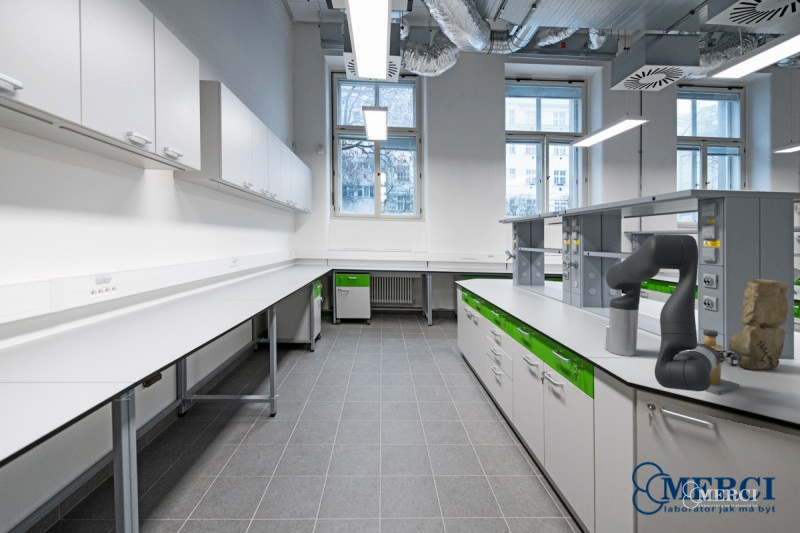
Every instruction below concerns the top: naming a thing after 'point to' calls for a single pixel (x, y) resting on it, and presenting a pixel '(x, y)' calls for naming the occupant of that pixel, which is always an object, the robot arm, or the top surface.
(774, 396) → the top surface
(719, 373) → the bottle
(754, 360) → the sculpture
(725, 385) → the mat
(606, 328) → the robot arm
